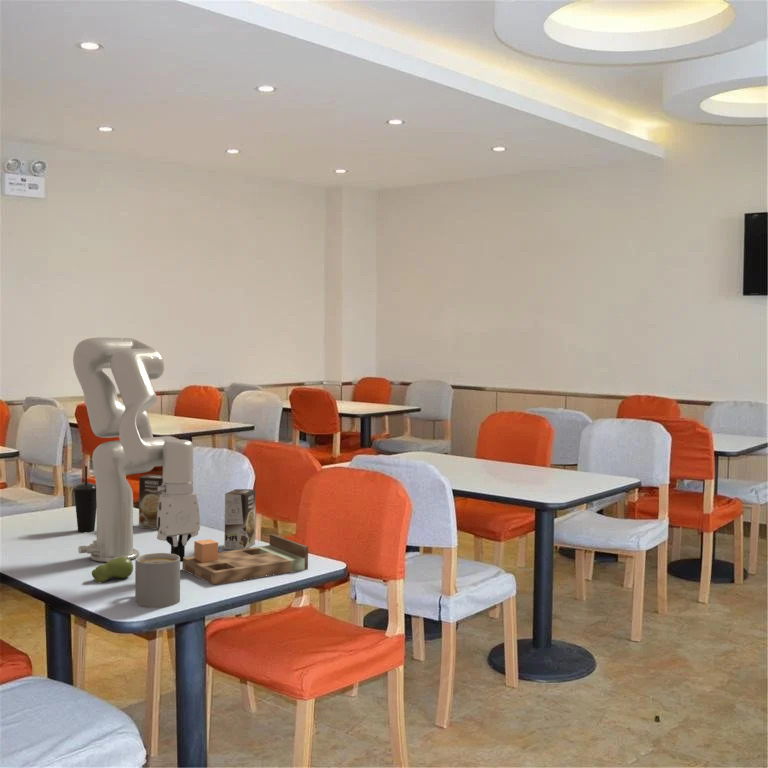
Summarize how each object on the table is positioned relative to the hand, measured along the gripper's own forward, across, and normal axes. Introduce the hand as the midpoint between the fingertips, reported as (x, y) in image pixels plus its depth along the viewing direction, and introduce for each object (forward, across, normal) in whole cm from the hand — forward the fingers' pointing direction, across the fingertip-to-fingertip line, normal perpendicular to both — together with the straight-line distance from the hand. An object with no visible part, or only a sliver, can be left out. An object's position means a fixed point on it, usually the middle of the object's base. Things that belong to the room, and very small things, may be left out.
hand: (177, 560), depth 234 cm
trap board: (+4, +17, -4) cm, 18 cm away
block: (+1, +8, 0) cm, 8 cm away
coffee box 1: (+4, +19, +57) cm, 60 cm away
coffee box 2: (+4, +28, +19) cm, 34 cm away
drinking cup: (+4, -1, +63) cm, 63 cm away
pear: (+4, -15, +6) cm, 16 cm away
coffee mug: (+4, -13, -16) cm, 21 cm away
